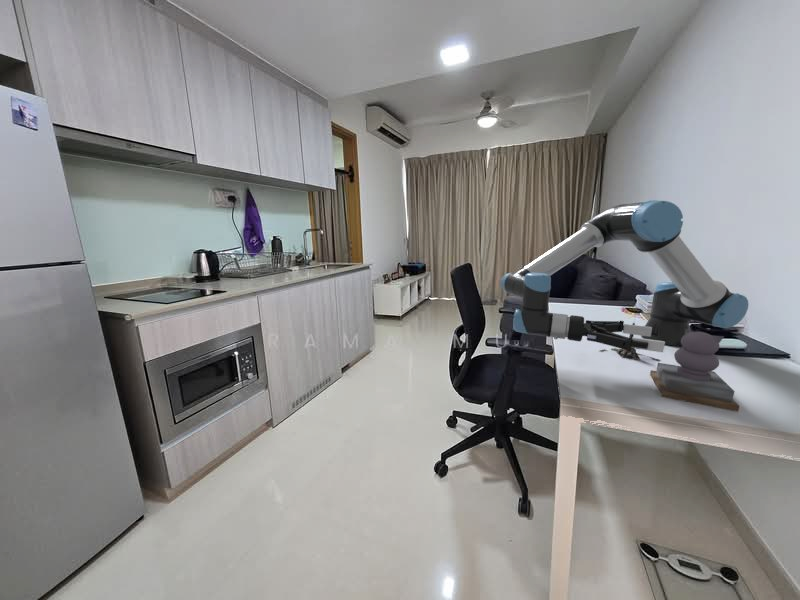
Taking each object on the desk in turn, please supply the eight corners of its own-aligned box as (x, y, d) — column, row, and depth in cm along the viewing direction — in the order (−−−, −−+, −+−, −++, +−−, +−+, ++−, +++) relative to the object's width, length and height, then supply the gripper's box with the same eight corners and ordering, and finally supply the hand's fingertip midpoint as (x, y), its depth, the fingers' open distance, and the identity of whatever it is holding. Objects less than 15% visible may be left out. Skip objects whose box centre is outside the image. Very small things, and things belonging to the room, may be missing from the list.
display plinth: (649, 374, 90) (652, 360, 89) (714, 386, 84) (717, 370, 83) (662, 396, 78) (665, 380, 77) (737, 411, 72) (742, 394, 71)
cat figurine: (664, 371, 82) (673, 329, 80) (680, 366, 85) (689, 325, 83) (705, 385, 75) (716, 339, 72) (721, 379, 78) (732, 335, 75)
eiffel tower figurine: (662, 362, 101) (670, 323, 98) (648, 368, 96) (655, 328, 93) (613, 347, 113) (618, 313, 110) (598, 352, 108) (603, 316, 106)
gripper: (566, 328, 104) (644, 338, 94) (565, 352, 82) (667, 369, 72) (569, 306, 102) (649, 314, 92) (569, 326, 81) (673, 339, 71)
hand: (657, 338), depth 82 cm, fingers open, 13 cm apart
